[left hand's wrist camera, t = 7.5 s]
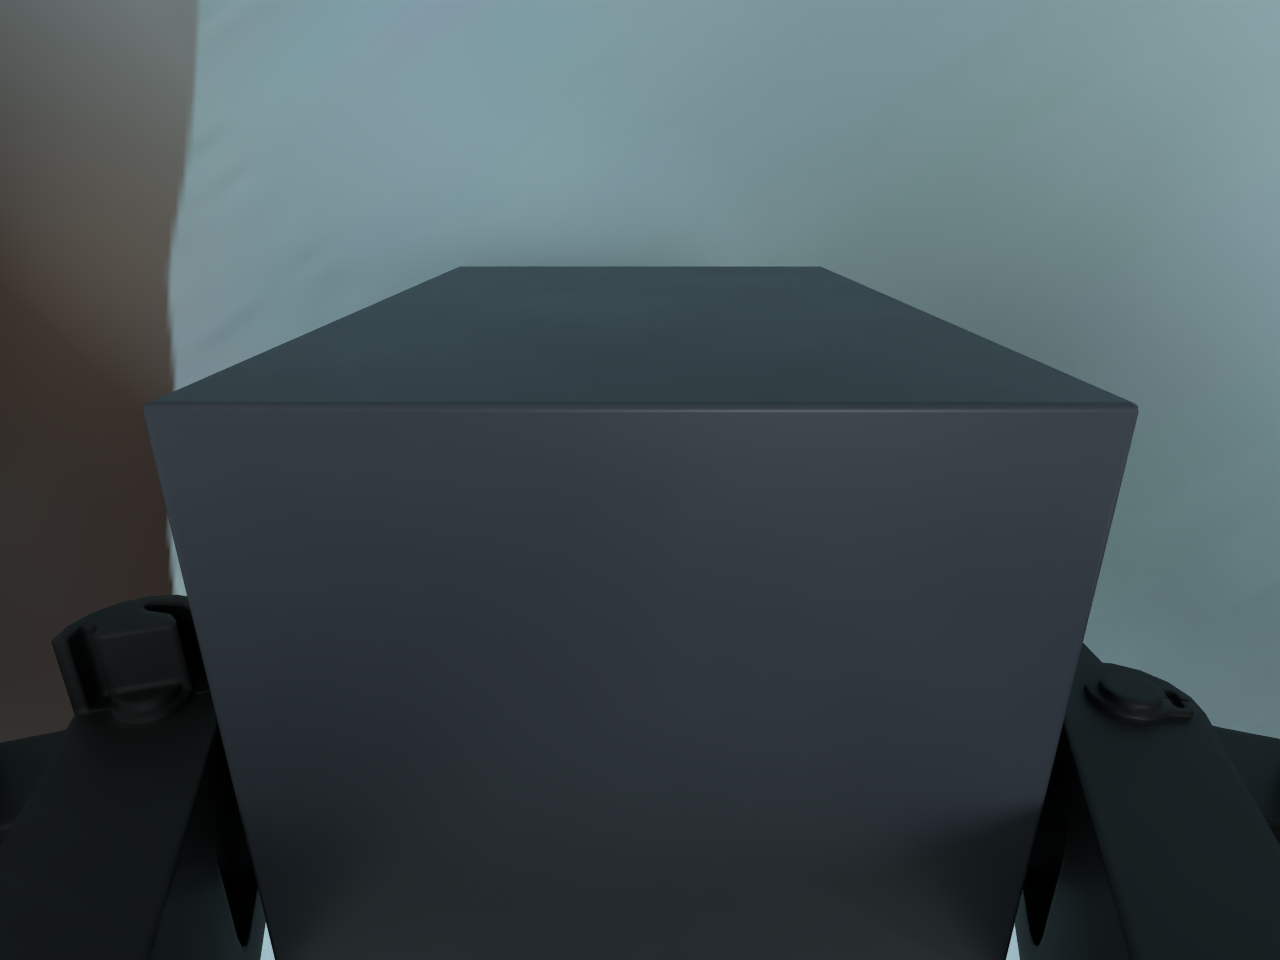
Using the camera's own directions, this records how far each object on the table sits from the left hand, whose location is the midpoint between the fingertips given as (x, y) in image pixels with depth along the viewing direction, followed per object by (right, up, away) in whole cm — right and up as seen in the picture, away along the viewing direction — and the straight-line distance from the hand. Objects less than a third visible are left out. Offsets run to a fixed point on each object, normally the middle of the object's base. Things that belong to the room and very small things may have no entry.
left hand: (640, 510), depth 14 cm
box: (0, -6, +3) cm, 7 cm away
